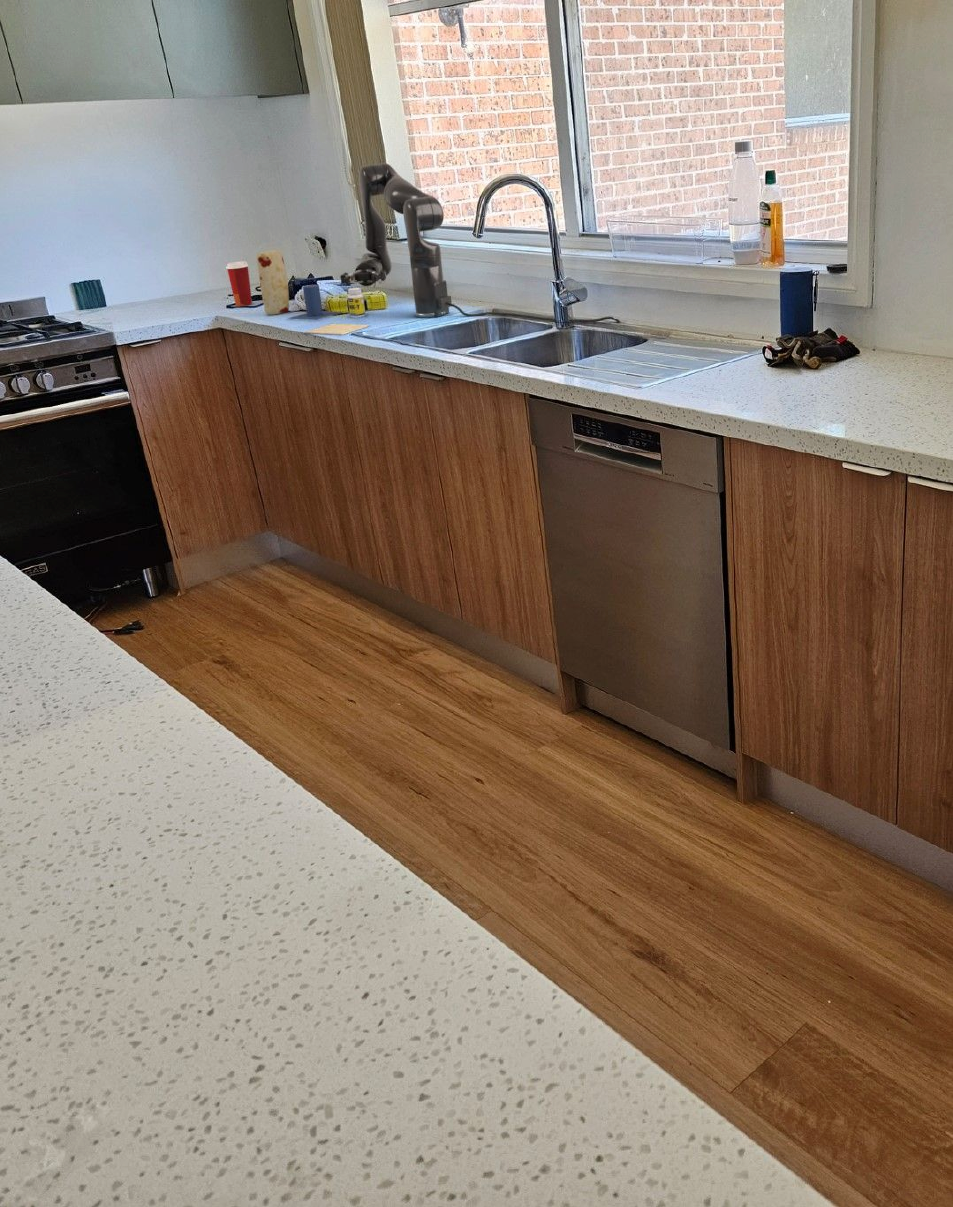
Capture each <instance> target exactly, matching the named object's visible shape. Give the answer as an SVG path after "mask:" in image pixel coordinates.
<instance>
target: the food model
mask: <svg viewBox="0 0 953 1207" xmlns="http://www.w3.org/2000/svg"><path fill="white" fill-rule="evenodd" d="M256 263H257V264H256V265H257V273H258V282H259V287H260V292H261V297H262V298H261V299H262V302H263V306H264V312H265V314H266V315H267V316H268V315H271V316H272V315H273V316H274V315H280V314H285V313H288V312H289V309H290V300H289V299H290V296H289V295H290V294H289V293H290V292H289V281H288V276H287V270H286V266H285V262H284V257H283V253H282V251H281V250H279V249H270V250H267V251H261V252H260V253H258V254H257V255H256Z"/></svg>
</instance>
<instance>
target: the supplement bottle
mask: <svg viewBox="0 0 953 1207" xmlns="http://www.w3.org/2000/svg"><path fill="white" fill-rule="evenodd" d="M347 293H348V295H347V302H348V311H349V316H350V317H351V318H359V317H364V316H366V308H365V298H364V295H363V294H362V288H361V287H350V288H348V289H347Z"/></svg>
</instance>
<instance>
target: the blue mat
mask: <svg viewBox="0 0 953 1207" xmlns="http://www.w3.org/2000/svg"><path fill="white" fill-rule="evenodd" d="M322 311H323V315H321V316H315V317H308V316H307V312H305V313H301V314H299V315H295V316H292V317H288V320H309V321H317V320H321V319H324V318H327V317H330V316H334V315H337V314H341V313H342V311H326V310H322Z"/></svg>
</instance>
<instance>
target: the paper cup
mask: <svg viewBox="0 0 953 1207" xmlns="http://www.w3.org/2000/svg"><path fill="white" fill-rule="evenodd" d="M225 269H226V270H227V273H228V275H227V276H228V278H229V283H230V285H231V286H230V287H231V291H232V295H233V296H232V297H233V300H234V303H235V306H236V307H244V306H245V307H246V306H250V305H252V304H253V299H252V290H251V282H250V273H249V272H250V271H249V264H248V262H247V261H244V260H241V261H233V262H228V263H227V264H226V267H225Z"/></svg>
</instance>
